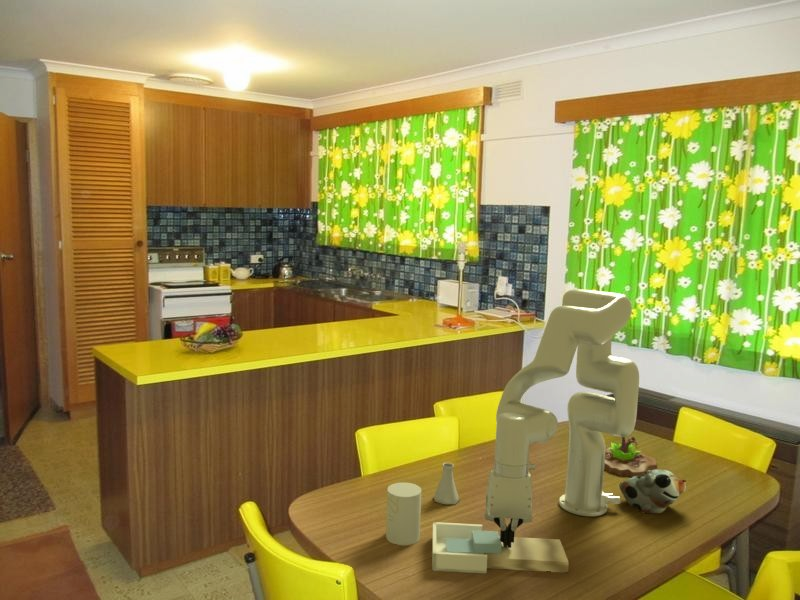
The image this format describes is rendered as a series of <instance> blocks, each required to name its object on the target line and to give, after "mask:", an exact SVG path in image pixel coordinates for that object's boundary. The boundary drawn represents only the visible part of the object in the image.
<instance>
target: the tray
mask: <svg viewBox="0 0 800 600" xmlns="http://www.w3.org/2000/svg"><path fill="white" fill-rule="evenodd" d="M472 530H474V531H483V524H474V523H460V522H459V523H456V522H440V521H433V522H432V531H431V532H432V533H431V534H432V535H431V537H432V539H431V540H432V541H431V542H432V544H431V545H432V546H431V547H432V548H431V549H432V551H431V557H432V562H431V563H432V564H431V568H432V571H433V572H450V573H451V572H452V573H470V574H487V572H488V570H487V569H488V568H487V555H485V554H484V553H475V554H467V553H449V552H446V538H457V539H472Z"/></svg>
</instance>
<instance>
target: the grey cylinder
mask: <svg viewBox="0 0 800 600" xmlns="http://www.w3.org/2000/svg"><path fill="white" fill-rule="evenodd" d="M386 490H387V492H386V493H387V495H386V520H385V521H386V525H385V526H386V528H385V539H386V538H387V539H386V540H387V541H388V542H389V543H391V544H394V545H396V544H397V546H410V545H414V544H416V543H417V542H419V540H420V539H421V537H420V535H421V514H422V513H421V511H422V487H420V486H419V485H417V484H415V483H412V482H395V483H393V484H390V485H388V486H387V489H386Z"/></svg>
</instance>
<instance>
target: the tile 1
mask: <svg viewBox="0 0 800 600" xmlns="http://www.w3.org/2000/svg"><path fill="white" fill-rule="evenodd" d="M446 552H449V553H467V554H475V552H474V547H473V543H472V539H457V538H446Z"/></svg>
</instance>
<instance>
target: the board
mask: <svg viewBox="0 0 800 600" xmlns="http://www.w3.org/2000/svg"><path fill="white" fill-rule="evenodd" d="M499 537H500V535H499ZM501 544H502V546H501V554H497V553H484V554H485V555H487V569H497V570H510V571H511V570H514V571H531V572H532V571H533V572H546V571H551V572H550V573H564V572H568V573H569V563H570V562H569V559H568V556H567V554H566V552H565V549H564V547H563V544H562V542H561V539H558V538H557V539H556V538H540V537H537V538H536V537H521V536H519V537H518V536H514V543H513V542H511V548H509V547H508V546H507V547H506V548H505V547H504V545H503V542H501Z"/></svg>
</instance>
